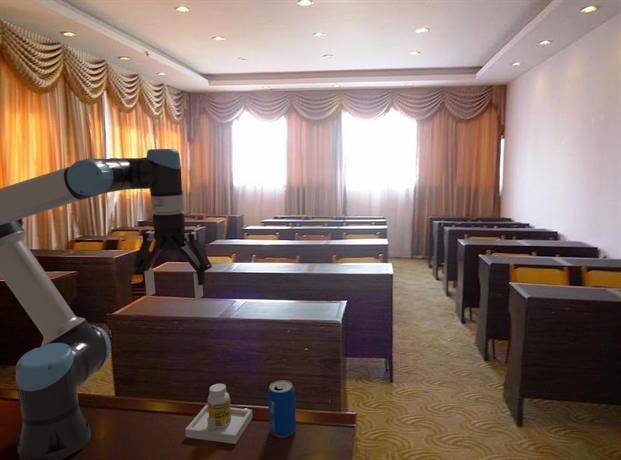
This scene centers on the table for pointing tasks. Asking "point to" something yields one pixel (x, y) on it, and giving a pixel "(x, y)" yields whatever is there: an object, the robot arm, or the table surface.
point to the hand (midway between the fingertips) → (174, 296)
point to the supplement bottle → (219, 405)
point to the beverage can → (282, 408)
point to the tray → (207, 429)
